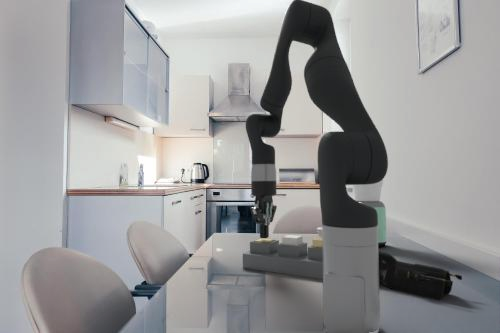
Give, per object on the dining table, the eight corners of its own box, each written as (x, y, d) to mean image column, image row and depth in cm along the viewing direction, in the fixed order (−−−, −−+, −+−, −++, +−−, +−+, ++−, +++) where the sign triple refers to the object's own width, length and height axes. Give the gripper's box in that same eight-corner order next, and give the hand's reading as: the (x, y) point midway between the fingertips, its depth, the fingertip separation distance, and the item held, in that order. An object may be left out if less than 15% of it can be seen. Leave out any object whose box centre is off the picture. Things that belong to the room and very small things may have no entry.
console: (331, 280, 85) (331, 251, 85) (242, 267, 98) (242, 243, 98) (344, 269, 95) (343, 244, 95) (262, 259, 108) (262, 237, 109)
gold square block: (267, 252, 98) (267, 241, 98) (254, 251, 100) (254, 240, 101) (274, 250, 102) (274, 239, 102) (261, 248, 104) (261, 238, 104)
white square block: (296, 249, 94) (296, 238, 94) (282, 248, 96) (282, 237, 96) (302, 247, 98) (302, 236, 98) (288, 245, 100) (288, 234, 100)
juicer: (374, 251, 119) (372, 151, 121) (340, 246, 129) (339, 154, 130) (398, 244, 132) (395, 154, 133) (365, 239, 142) (363, 156, 143)
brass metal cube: (328, 253, 89) (328, 240, 89) (312, 251, 91) (312, 239, 92) (333, 250, 93) (333, 238, 93) (318, 248, 95) (317, 237, 95)
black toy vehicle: (451, 308, 68) (451, 267, 68) (341, 279, 86) (341, 246, 86) (462, 300, 73) (462, 261, 73) (355, 273, 91) (356, 243, 91)
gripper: (264, 179, 95) (265, 242, 94) (284, 179, 106) (285, 235, 105) (241, 179, 98) (242, 240, 97) (263, 180, 110) (263, 234, 109)
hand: (264, 237), depth 101 cm, fingers closed
